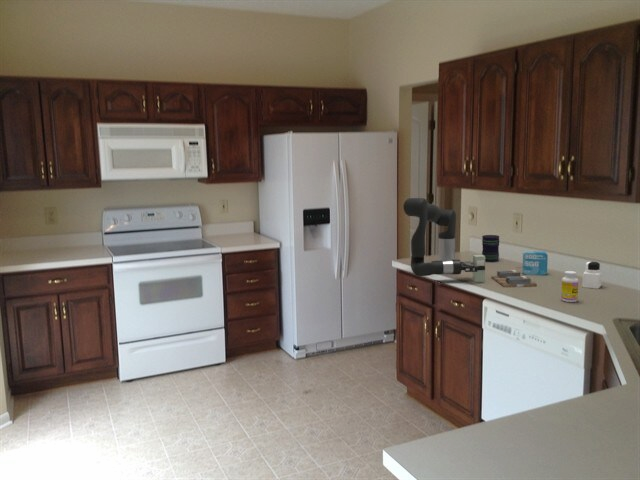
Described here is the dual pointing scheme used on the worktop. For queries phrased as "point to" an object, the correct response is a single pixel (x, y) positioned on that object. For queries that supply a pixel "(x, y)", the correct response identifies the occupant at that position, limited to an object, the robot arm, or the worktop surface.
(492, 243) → the storage jar
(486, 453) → the worktop surface
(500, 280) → the rail board
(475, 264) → the block
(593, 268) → the medicine bottle
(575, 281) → the supplement bottle
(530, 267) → the blue product box
